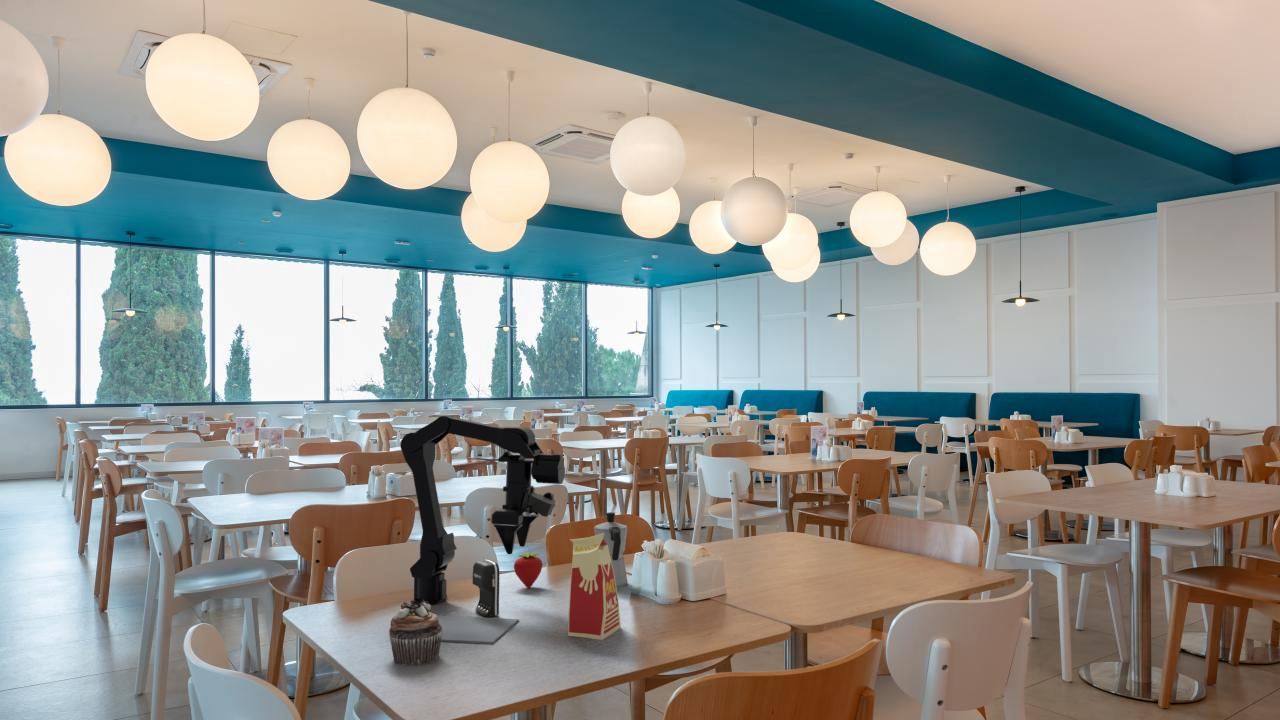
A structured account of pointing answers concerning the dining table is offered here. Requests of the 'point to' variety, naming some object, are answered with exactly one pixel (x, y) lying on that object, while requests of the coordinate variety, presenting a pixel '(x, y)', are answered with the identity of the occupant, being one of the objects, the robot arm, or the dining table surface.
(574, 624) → the milk carton
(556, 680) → the dining table surface
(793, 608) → the dining table surface
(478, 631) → the mat
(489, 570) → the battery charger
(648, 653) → the dining table surface
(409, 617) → the cupcake
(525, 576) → the strawberry
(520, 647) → the dining table surface
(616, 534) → the coffee maker
